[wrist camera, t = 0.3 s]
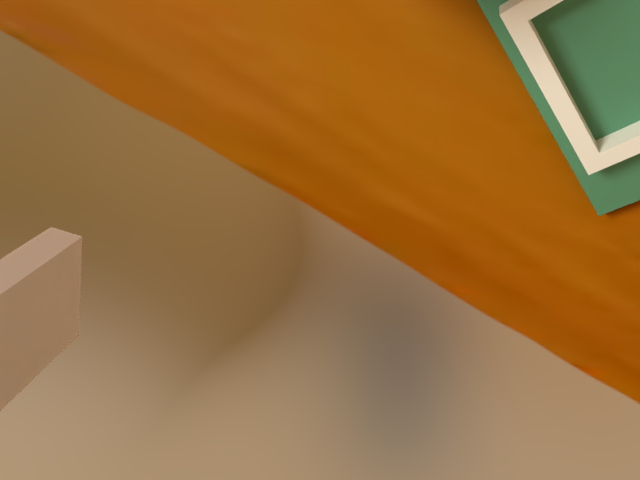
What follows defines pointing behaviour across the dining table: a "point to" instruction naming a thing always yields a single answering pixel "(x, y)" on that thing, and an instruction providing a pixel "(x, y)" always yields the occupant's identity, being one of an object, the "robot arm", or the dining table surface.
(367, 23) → the dining table surface
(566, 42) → the socket board
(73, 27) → the dining table surface
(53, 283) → the robot arm
